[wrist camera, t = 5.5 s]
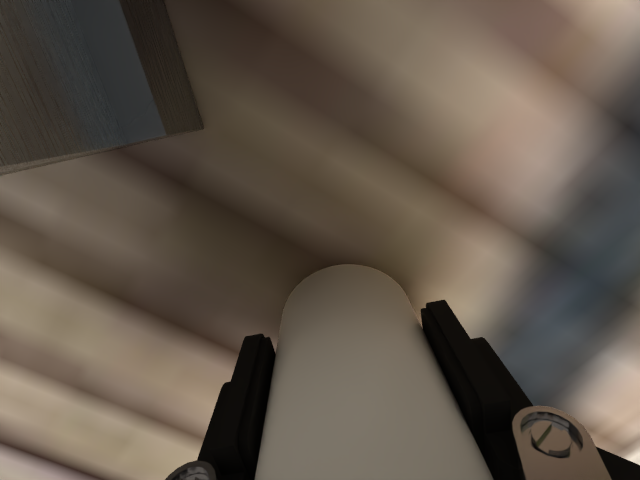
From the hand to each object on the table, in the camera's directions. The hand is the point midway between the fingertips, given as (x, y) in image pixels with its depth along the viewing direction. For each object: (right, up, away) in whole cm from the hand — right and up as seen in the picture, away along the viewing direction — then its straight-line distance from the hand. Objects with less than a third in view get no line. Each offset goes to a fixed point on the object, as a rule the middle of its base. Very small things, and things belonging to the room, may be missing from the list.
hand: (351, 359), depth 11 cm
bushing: (0, +1, +2) cm, 2 cm away
